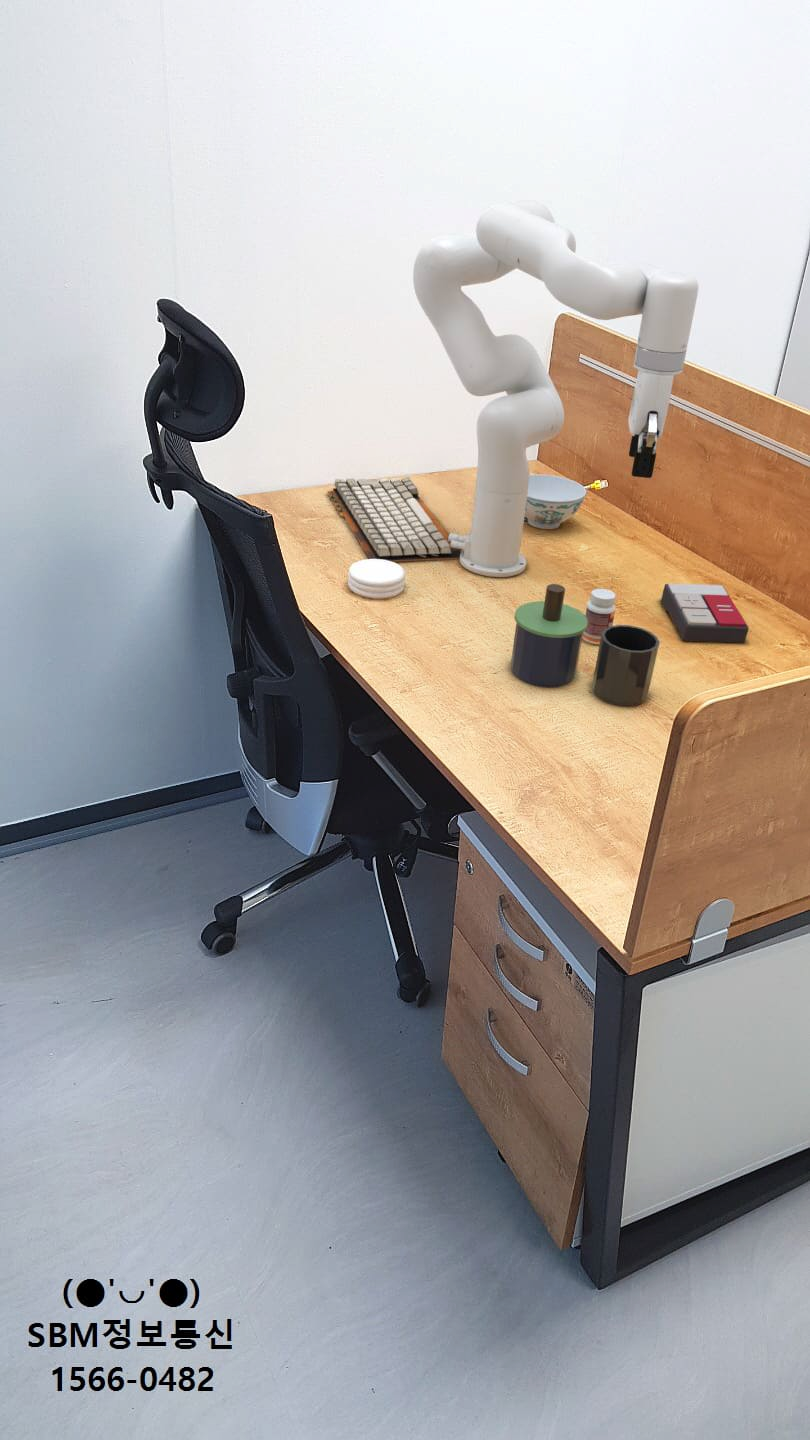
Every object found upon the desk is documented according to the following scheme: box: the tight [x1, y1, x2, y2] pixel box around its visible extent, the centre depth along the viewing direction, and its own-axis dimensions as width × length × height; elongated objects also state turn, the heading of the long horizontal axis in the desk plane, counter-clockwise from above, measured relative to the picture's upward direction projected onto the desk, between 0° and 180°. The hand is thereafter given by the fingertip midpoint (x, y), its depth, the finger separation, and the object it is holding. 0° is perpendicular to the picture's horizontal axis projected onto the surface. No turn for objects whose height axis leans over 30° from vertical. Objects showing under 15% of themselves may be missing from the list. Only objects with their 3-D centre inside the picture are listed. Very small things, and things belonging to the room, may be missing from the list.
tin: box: [510, 622, 583, 689], centre depth 172 cm, size 10×10×9 cm
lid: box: [514, 583, 588, 638], centre depth 168 cm, size 11×11×6 cm
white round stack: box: [347, 558, 406, 600], centre depth 195 cm, size 10×10×4 cm
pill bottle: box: [582, 588, 617, 646], centre depth 183 cm, size 5×5×8 cm
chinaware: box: [524, 473, 587, 530], centre depth 225 cm, size 15×15×8 cm
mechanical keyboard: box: [326, 476, 462, 564], centre depth 221 cm, size 38×19×3 cm, turn 17°
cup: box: [591, 624, 661, 708], centre depth 168 cm, size 9×9×10 cm
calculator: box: [660, 582, 750, 644], centre depth 192 cm, size 11×4×15 cm
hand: (639, 466), depth 179 cm, fingers open, 9 cm apart
